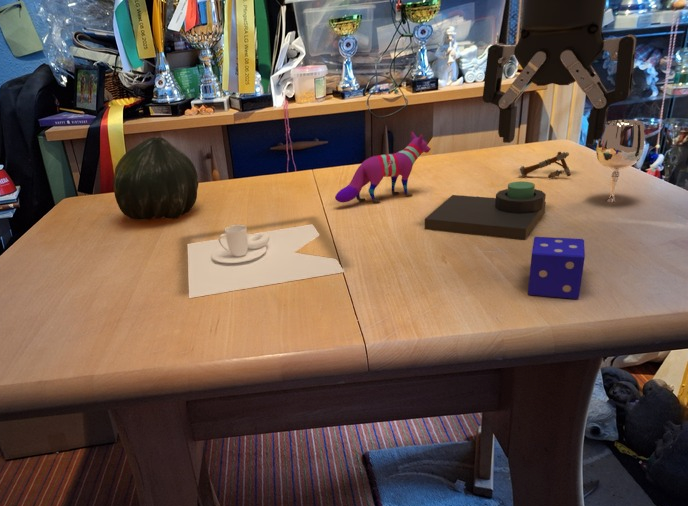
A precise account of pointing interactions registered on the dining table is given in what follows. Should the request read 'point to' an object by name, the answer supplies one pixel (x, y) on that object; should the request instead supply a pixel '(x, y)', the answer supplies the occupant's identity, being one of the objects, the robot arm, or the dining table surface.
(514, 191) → the tare button
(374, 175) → the striped fox figurine
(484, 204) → the scale
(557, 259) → the die
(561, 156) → the wooden post with brackets
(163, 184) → the squash
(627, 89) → the robot arm
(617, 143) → the wineglass
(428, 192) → the dining table surface
